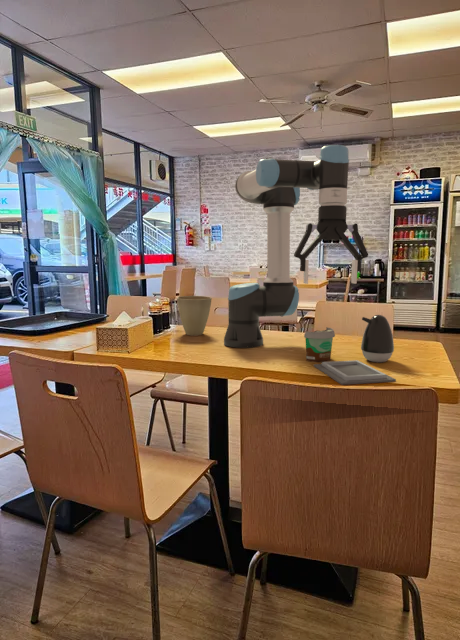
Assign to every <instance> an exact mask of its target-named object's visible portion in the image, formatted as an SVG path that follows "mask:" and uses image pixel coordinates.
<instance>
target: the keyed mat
mask: <svg viewBox="0 0 460 640" xmlns="http://www.w3.org/2000/svg"><path fill="white" fill-rule="evenodd" d="M313 367H314V368H315V369H317V370H319V371H320V372H322V373H323V372H324V373H323V374H325V375H326V374H327V375H326V376H328V377H329V378H331V379H332V380H334V381H335V382H337V383H338V384H339V385H341V386H342V385H343V386H344V385H359V384H375V383H391V382H392V383H395V382H396V381H397V380H396V378H394V377H392V376H390V375H388V374H387V373H384V372H383V371H380V370H378V369H376V368H374V367H372V366H370V365H368V364H365V363H364V362H362V361H360V360H358V359H355V360H337V361H326V362H321V363H315V364H313ZM394 381H395V382H394Z"/></svg>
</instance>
